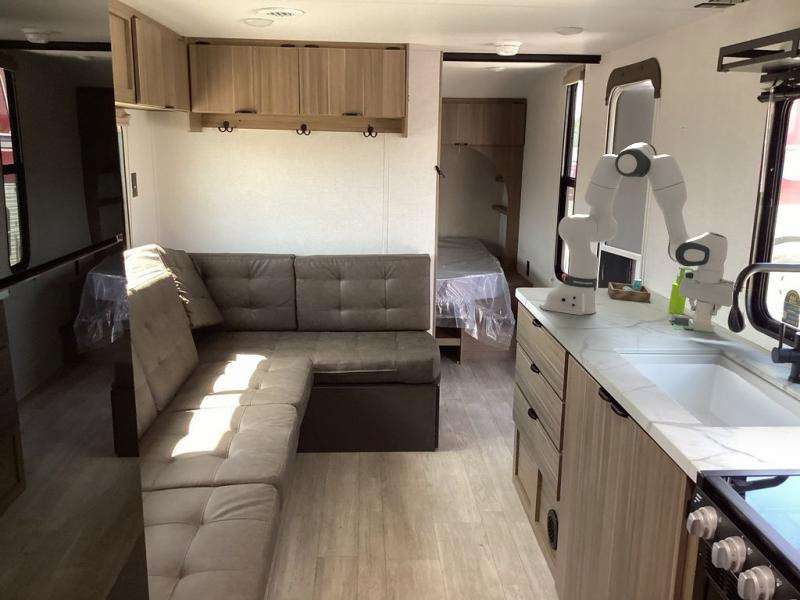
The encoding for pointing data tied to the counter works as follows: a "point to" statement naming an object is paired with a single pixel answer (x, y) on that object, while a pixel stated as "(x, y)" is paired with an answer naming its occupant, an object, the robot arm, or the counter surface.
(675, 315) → the grey sponge
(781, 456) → the counter surface
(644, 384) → the counter surface
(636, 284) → the teal container
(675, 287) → the soap dispenser
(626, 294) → the wooden tray
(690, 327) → the compartment tray
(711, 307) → the plug
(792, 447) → the counter surface
